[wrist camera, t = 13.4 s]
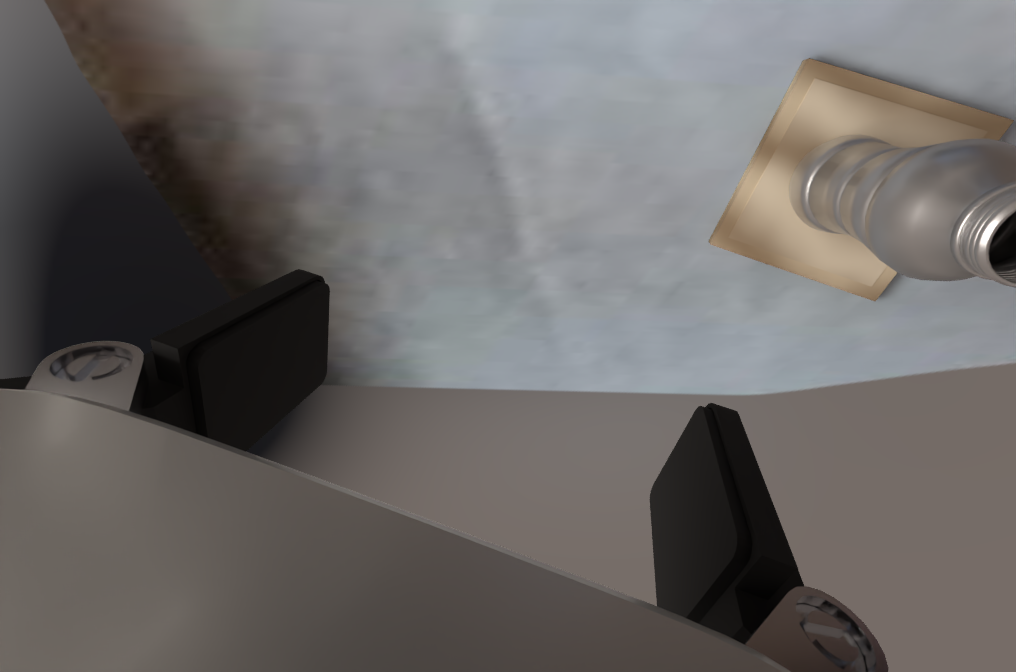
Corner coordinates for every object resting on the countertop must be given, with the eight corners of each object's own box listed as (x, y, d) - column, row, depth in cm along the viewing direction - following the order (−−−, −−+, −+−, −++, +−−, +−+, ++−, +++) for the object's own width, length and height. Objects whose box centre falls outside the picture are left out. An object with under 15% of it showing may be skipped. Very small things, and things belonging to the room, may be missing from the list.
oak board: (803, 60, 32) (809, 58, 31) (1000, 120, 31) (1014, 120, 30) (708, 241, 39) (710, 244, 38) (868, 296, 37) (875, 301, 36)
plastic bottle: (796, 240, 36) (958, 349, 18) (767, 162, 34) (916, 202, 17) (890, 200, 33) (1184, 283, 16) (864, 114, 31) (1162, 100, 14)
